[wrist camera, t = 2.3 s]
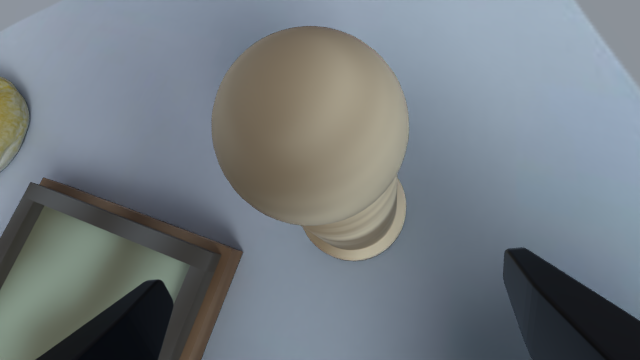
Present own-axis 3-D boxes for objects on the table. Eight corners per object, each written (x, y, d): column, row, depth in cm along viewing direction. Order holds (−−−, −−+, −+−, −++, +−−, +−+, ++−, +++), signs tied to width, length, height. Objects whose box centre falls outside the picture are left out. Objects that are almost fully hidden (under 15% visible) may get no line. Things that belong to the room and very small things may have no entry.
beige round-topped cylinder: (418, 175, 21) (457, -17, 8) (387, 276, 20) (372, 252, 6) (322, 149, 23) (221, -44, 9) (289, 241, 21) (117, 166, 8)
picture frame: (243, 251, 22) (224, 247, 19) (133, 531, 19) (95, 566, 16) (62, 183, 26) (28, 172, 23) (-52, 402, 23) (-104, 416, 20)
